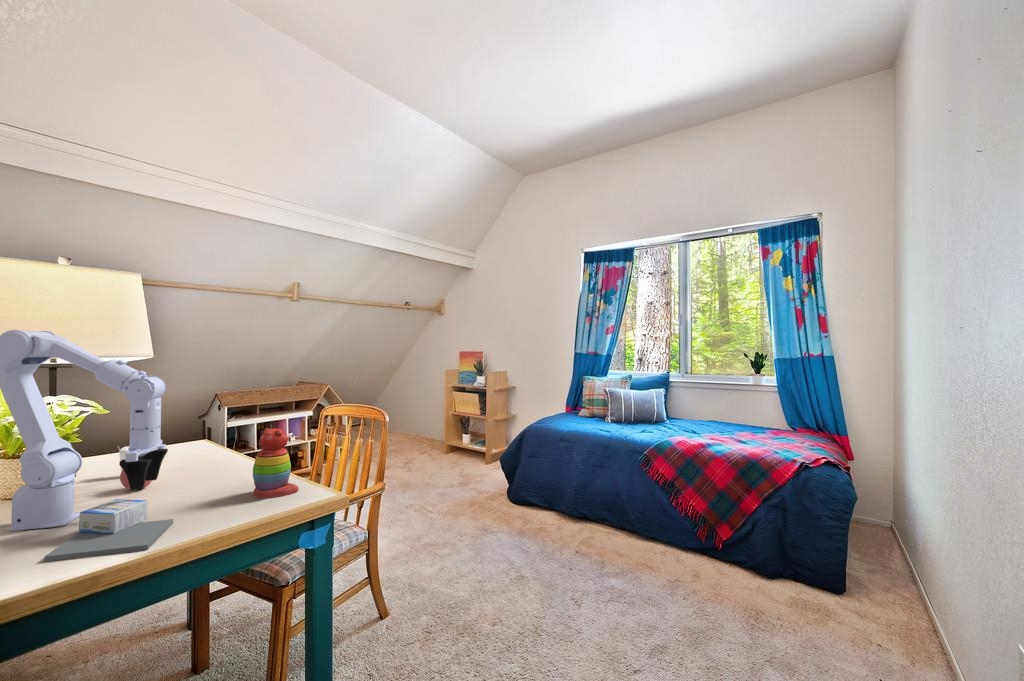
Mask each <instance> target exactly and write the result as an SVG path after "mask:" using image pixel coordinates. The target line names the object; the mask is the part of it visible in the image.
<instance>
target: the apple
mask: <svg viewBox="0 0 1024 681" xmlns="http://www.w3.org/2000/svg"><path fill="white" fill-rule="evenodd" d="M119 481H120V483H121V485H122V487H124V488H125V489H127V490H128V491H131V489H130V486H129V482H128V479H127V476H126V474H125V472H124V470H122V472H121V471H120V474H119ZM152 482H153V480H150V481H146V480H145V484H144V488H143V489H145V488H147V487H148V486H149V485H150V484H151V483H152Z"/></svg>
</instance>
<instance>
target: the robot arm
mask: <svg viewBox="0 0 1024 681" xmlns="http://www.w3.org/2000/svg"><path fill="white" fill-rule="evenodd" d="M51 358H59V359H61V360H64V361H65V362H68V363H70V364H73V365H75V366H77V367H80V368H82V369H85V370H87V371H89V372H91V373H93V374H94V377H95V380H96V381H97V382H100V383H101V384H103V385H106V386H108V387H110V388H112V389H114V390H116V391H119V392H121V393H122V394H124V396H125V398H126V399H127V400H128V401H129V404H130V405H129V407H130V409H129V412H130V413H129V419H130V421H129V446H130V447H129V448H128V452H127V453H126V459H123V460H121V461H120V460H119V466H120V469H121V468H122V469H123V470H124V472H125V474H126V476H127V479H128V482H129V486H130V489H131V490H130V491H142V490H143V489H145V488H144V484H145V480H146V481H150V480H152V481H157V479H158V477H159V473H160V469H161V465H162V464H163V460H164V459H165V457H166V455H167V453H168V451H169V450H168V448H167V444H165V443H163V439H161V437H162V436H161V433H162V432H161V431H162V429H161V428H162V397H163V396H164V395H165V393H166V392H167V385H166V383H165V381H164V380H163V379H162V378H160V377H159V376H158V375H147V372H145V371H144V370H140V371H139V370H137V369H136V368H133V367H131V366H129V365H127V364H128V362H127V361H125V360H123V359H118V360H117V359H110V360H105V359H103V358H101V357H99V356H97V355H95V354H94V353H92V352H90V351H88V350H86V349H85V348H83V347H81V346H79V345H78V344H76V343H73V342H72V341H70V340H68V339H67V338H66V337H65V336H61V335H57V334H56V333H54V332H52V331H49V330H40V331H39V330H38V331H36V330H34V331H33V330H20V329H11V330H7V331H4V332H3V333H1V334H0V391H1V394H2V395H3V399H4V400H5V403H6V404H7V407H8V410H9V412H10V415H11V416H12V419H13V421H14V423H15V425H16V427H17V430H18V432H19V434H20V436H21V439H22V442H23V443H24V446H25V449H24V451H23V452H22V454H21V455H20V457H19V462H20V465H21V469H20V477H21V480H22V482H23V483H24V484H25V485H22V486H19V487H18V488H17V489H16V490H15V492H14V494H13V496H12V501H11V527H10V528H8V532H14V531H15V532H16V531H25V530H34V529H37V530H38V529H45V528H56V527H64V526H66V525H67V524H69V523H71V522H72V521H73V520H75V519H77V518H79V517H80V512H81V511H75V484H76V483H75V479H76V473H77V472H79V471H80V470H81V469H82V466H83V463H84V462H83V457H82V455H81V454H80V453H79V452H78V451H76V450H75V449H74V447H73V446H72V443H71V442H69V441H67V440H65V439H63V438H62V437H60V435H59V433H58V431H57V429H56V426H55V424H54V421H53V420H52V417H51V414H50V412H49V410H48V408H47V405H46V403H45V401H44V399H43V398H44V397H42V394H41V392H40V389H39V387H38V385H37V382H36V380H35V377H34V373H35V372H36V371H37V369H38V368H39V367H40V366H41V365H43V364H44V363H45V362H47V361H48V360H50V359H51Z"/></svg>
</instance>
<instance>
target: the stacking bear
mask: <svg viewBox="0 0 1024 681" xmlns="http://www.w3.org/2000/svg"><path fill="white" fill-rule="evenodd" d="M288 443H289V436H288V435H287V434H286V432H285V431H284V430H283V429H279V428H268V427H266V428H264V429H263V430H262V434H260V437H259V445H260V448H261V449H260V450H259V451H258V452H257V455H256V456H255V458H254V459H255V460H254V464H253V468H252V478H253V484H254V486H255V487H254V489H253V491H252V492H253V493H252V495H253V496H254V497H255V498H259V499H268V498H269V499H270V498H278V497H283V496H288V495H291V494H295V493H297V492H298V491H299V489H300V488H299V486H298V485H297V484H294V483H291V482H290V483H289V479H290V476H291V470H292V469H291V467H292V464H291V460H290V455H289V451H288V449H287V448H286V446H287V445H288Z"/></svg>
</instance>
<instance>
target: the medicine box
mask: <svg viewBox="0 0 1024 681" xmlns="http://www.w3.org/2000/svg"><path fill="white" fill-rule="evenodd" d="M79 512H80V516H78V518H79V519H78V520H79V521H78V531H79V532H90V533H111V534H114V533H117V532H119V531H122V530H124V529H126V528H128V527H131V526H133V525H135V524H137V523H140V522H145V521H146V520H148V518H149V514H148V513H149V501H148V499H127V498H126V499H125V498H124V499H123V498H122V499H119V498H117V499H113V500H110V501H107V502H105V503H102V504H101V503H100V504H99V505H97V506H93V507H91V508H87V509H85V510H81V511H79ZM79 532H78V533H79Z"/></svg>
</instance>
